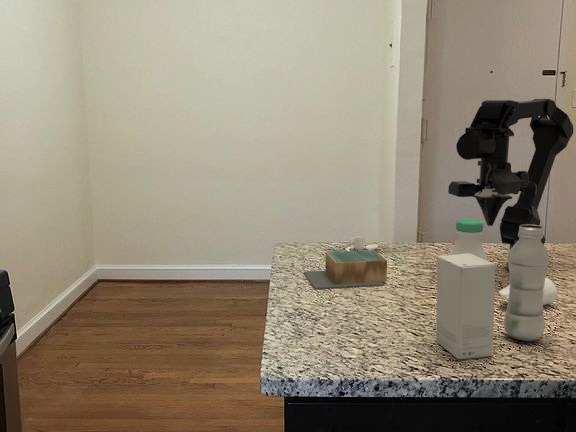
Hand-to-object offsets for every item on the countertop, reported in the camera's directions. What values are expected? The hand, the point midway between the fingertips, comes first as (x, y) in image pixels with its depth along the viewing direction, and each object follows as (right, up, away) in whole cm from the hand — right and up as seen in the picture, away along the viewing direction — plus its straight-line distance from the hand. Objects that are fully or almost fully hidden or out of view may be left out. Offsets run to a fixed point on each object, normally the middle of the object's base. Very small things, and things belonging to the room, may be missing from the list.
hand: (489, 225), depth 134 cm
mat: (-33, -13, +4) cm, 36 cm away
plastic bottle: (-5, -19, -31) cm, 37 cm away
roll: (+1, -16, -15) cm, 22 cm away
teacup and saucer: (-25, -9, +29) cm, 39 cm away
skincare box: (-17, -20, -35) cm, 44 cm away
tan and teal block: (-24, -9, +5) cm, 27 cm away
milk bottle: (-14, -19, -26) cm, 35 cm away
